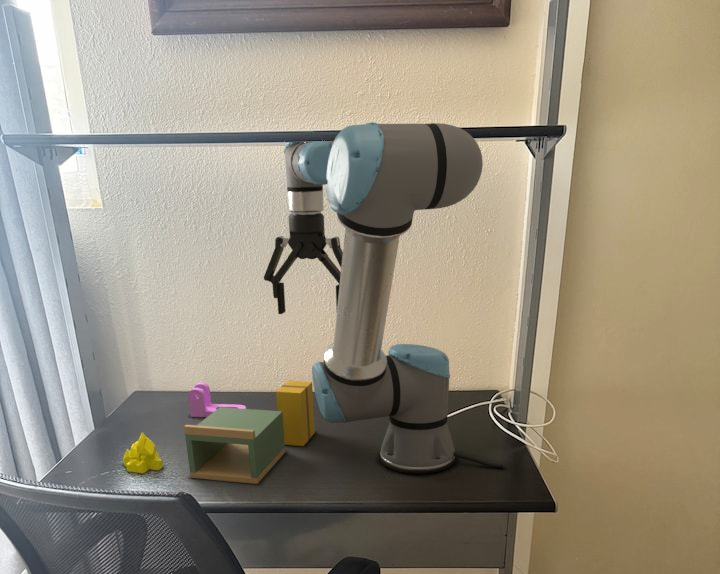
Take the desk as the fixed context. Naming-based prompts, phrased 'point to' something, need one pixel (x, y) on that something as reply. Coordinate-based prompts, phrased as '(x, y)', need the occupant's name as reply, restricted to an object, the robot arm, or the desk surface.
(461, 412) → the desk surface
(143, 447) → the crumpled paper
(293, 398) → the package
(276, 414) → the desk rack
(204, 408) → the bracket
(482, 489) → the desk surface
